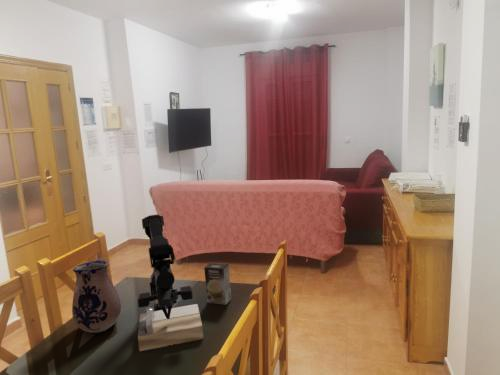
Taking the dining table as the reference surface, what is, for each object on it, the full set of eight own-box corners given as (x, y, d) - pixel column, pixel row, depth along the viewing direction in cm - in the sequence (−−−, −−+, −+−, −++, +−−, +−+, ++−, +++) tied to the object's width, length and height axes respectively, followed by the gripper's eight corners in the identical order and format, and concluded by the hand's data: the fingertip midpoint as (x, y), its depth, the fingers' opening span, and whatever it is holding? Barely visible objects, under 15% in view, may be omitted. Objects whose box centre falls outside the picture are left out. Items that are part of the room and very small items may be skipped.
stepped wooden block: (140, 337, 141) (138, 315, 139) (200, 325, 145) (198, 304, 144) (139, 351, 131) (136, 328, 130) (203, 338, 136) (201, 316, 135)
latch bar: (146, 315, 145) (145, 308, 145) (154, 314, 146) (153, 306, 145) (145, 334, 132) (144, 326, 131) (154, 332, 132) (153, 324, 132)
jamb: (141, 325, 149) (140, 313, 148) (198, 315, 154) (197, 303, 153) (140, 336, 141) (139, 323, 140) (200, 325, 146) (199, 312, 145)
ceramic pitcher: (69, 342, 141) (58, 277, 137) (84, 315, 161) (75, 258, 157) (119, 335, 143) (110, 271, 139) (127, 309, 164) (120, 253, 160)
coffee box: (206, 303, 164) (203, 267, 161) (212, 296, 170) (209, 262, 167) (226, 305, 161) (223, 268, 158) (232, 298, 167) (229, 263, 164)
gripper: (134, 291, 126) (140, 334, 128) (191, 282, 130) (196, 324, 132) (136, 278, 137) (141, 319, 139) (189, 270, 141) (193, 310, 143)
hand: (168, 318), depth 138 cm, fingers closed
